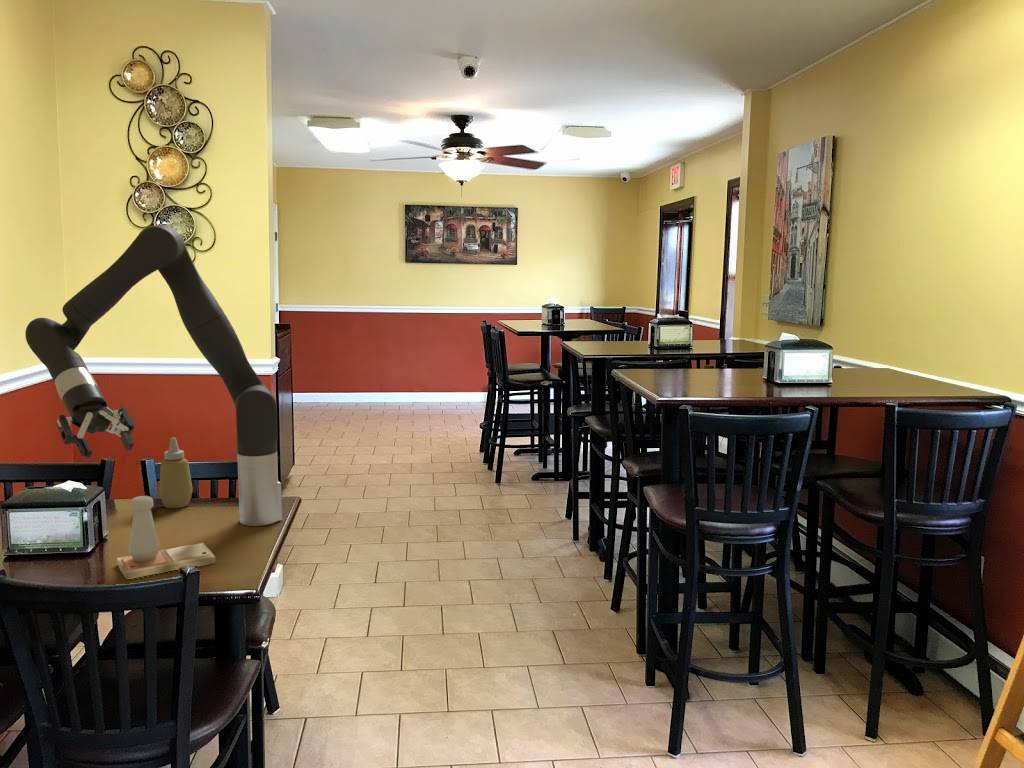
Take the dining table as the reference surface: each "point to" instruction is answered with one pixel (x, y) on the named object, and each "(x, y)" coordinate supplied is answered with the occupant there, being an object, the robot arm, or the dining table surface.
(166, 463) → the squeeze bottle
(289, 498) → the dining table surface
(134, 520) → the salt shaker
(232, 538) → the dining table surface
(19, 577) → the dining table surface
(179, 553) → the tile board
